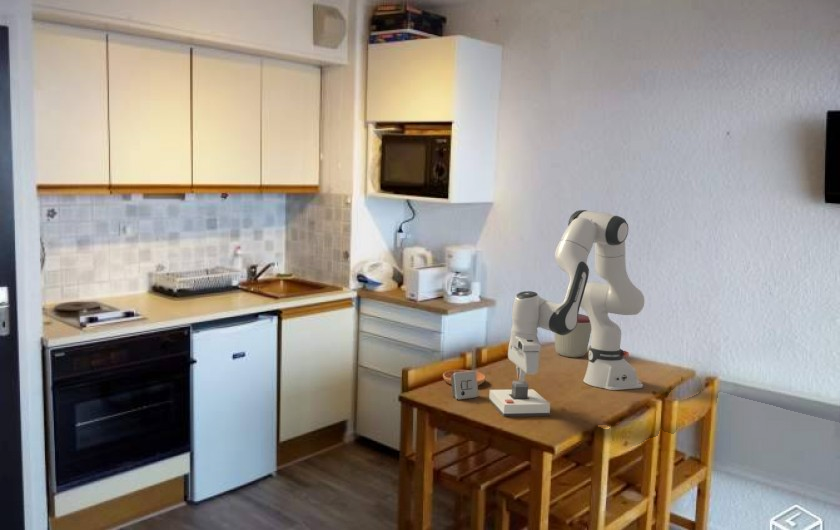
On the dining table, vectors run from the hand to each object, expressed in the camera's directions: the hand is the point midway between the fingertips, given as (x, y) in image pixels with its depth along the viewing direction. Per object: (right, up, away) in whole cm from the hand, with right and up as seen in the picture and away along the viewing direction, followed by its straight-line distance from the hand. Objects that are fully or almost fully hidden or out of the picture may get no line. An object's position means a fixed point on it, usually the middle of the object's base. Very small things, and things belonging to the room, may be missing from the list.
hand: (520, 379), depth 247 cm
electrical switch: (-19, -8, +10) cm, 23 cm away
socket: (-1, -10, +1) cm, 10 cm away
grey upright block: (-1, -9, +1) cm, 9 cm away
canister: (+33, -2, +79) cm, 86 cm away
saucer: (-18, -6, +28) cm, 33 cm away
